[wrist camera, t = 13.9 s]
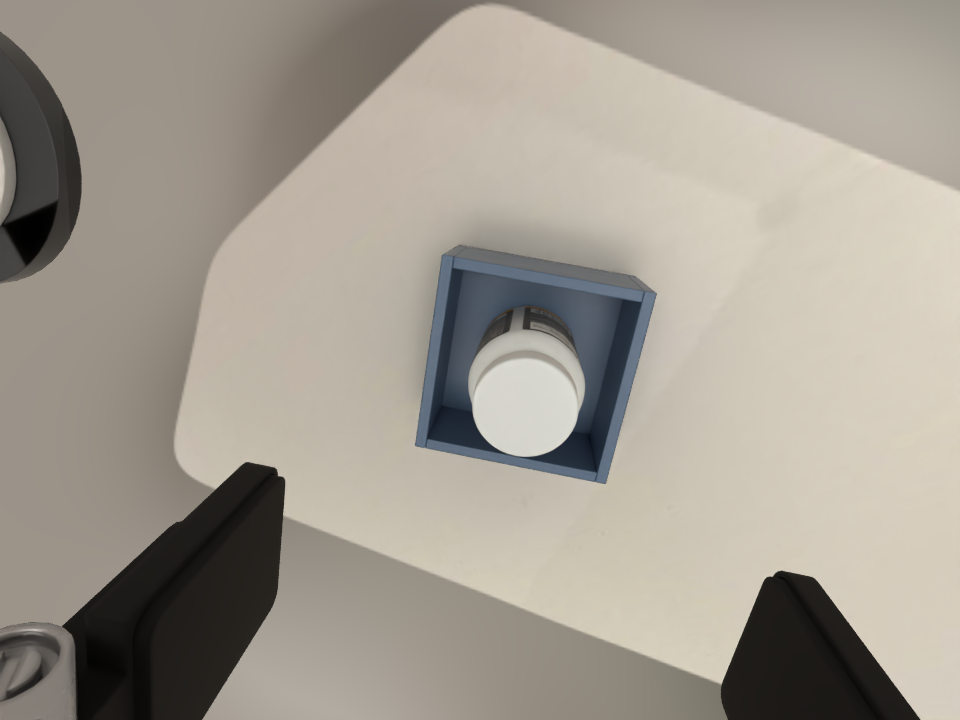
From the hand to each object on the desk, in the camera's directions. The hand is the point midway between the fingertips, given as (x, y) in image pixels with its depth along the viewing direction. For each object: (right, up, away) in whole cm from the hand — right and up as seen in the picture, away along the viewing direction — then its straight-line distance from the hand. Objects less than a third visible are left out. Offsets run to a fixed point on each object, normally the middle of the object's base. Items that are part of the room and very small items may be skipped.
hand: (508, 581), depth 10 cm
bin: (+3, +5, +23) cm, 24 cm away
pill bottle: (+2, +5, +23) cm, 23 cm away
